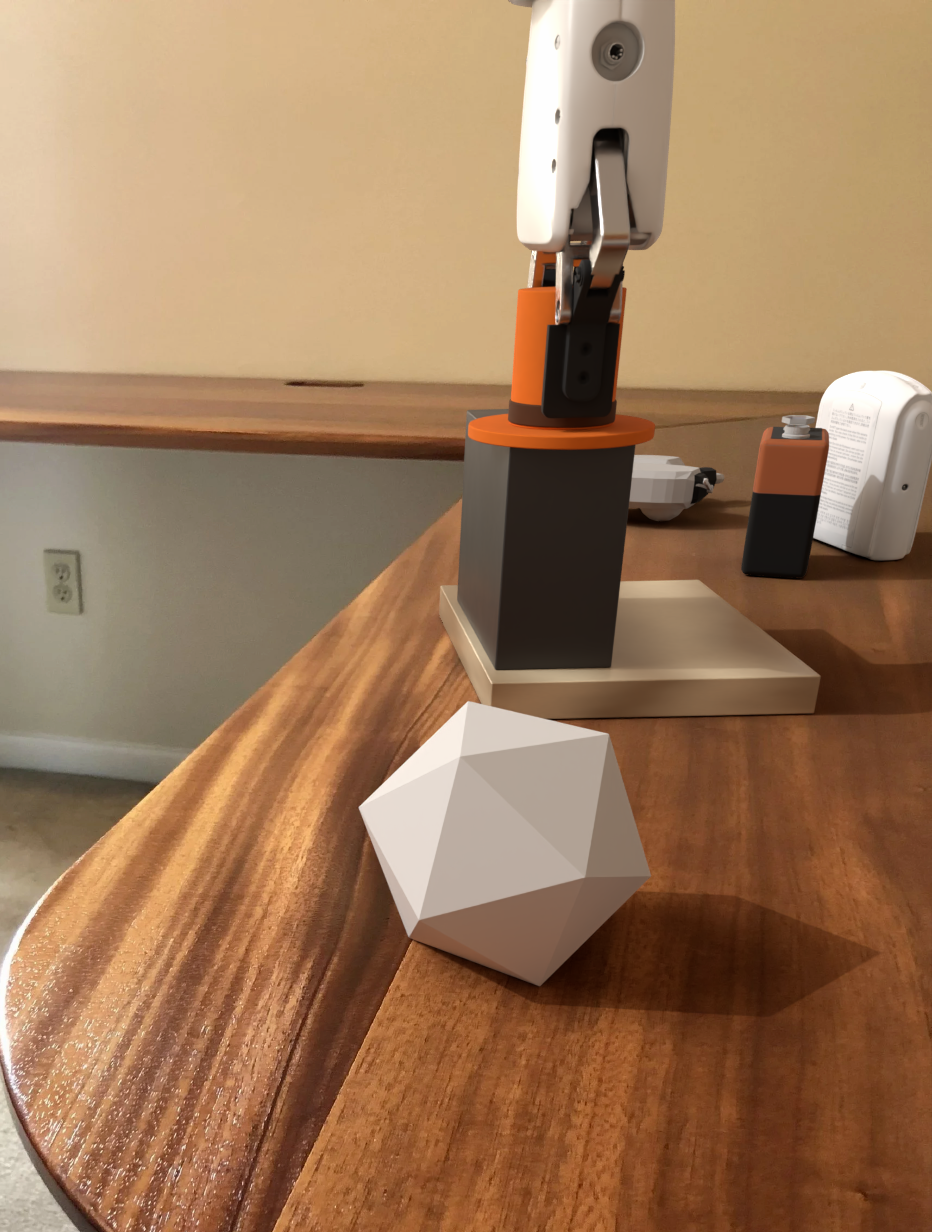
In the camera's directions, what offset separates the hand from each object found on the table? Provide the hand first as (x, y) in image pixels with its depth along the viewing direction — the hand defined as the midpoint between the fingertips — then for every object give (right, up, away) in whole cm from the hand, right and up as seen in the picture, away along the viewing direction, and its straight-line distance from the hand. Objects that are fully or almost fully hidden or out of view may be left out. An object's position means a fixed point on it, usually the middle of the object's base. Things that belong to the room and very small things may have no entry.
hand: (562, 404), depth 63 cm
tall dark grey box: (0, -9, +9) cm, 13 cm away
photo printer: (+30, +2, +35) cm, 46 cm away
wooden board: (+5, -10, +11) cm, 16 cm away
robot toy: (+18, +9, +48) cm, 52 cm away
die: (-7, -26, -18) cm, 32 cm away
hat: (0, -1, +1) cm, 1 cm away
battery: (+22, 0, +30) cm, 37 cm away
